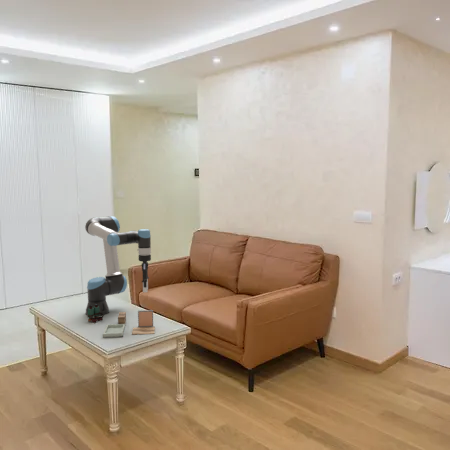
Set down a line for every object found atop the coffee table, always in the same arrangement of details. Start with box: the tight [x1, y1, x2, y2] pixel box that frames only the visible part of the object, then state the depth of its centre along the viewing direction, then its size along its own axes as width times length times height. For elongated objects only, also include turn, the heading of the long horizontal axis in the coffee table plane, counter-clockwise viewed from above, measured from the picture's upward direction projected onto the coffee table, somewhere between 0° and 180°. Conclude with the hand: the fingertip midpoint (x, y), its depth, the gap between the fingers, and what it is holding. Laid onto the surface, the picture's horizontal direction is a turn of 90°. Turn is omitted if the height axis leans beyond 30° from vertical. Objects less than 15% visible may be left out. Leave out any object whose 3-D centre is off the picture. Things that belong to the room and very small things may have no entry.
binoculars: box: [87, 303, 105, 323], centre depth 281 cm, size 9×11×10 cm
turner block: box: [117, 311, 127, 325], centre depth 275 cm, size 10×4×6 cm, turn 8°
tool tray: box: [102, 323, 126, 339], centre depth 261 cm, size 16×11×2 cm
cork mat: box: [131, 326, 156, 336], centre depth 263 cm, size 11×13×1 cm
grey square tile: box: [137, 309, 154, 327], centre depth 270 cm, size 1×9×10 cm, turn 97°
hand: (145, 290), depth 274 cm, fingers open, 6 cm apart
